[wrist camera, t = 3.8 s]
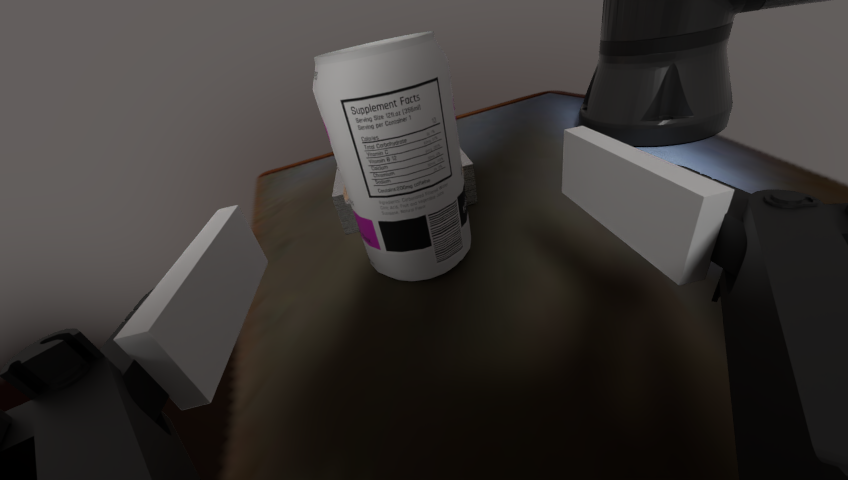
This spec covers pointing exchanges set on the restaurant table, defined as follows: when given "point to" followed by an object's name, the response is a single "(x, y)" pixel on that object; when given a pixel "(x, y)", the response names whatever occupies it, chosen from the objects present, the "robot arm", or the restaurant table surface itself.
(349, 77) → the supplement can
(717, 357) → the restaurant table surface
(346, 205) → the white drawer tray
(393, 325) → the restaurant table surface
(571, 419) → the restaurant table surface
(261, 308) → the restaurant table surface
